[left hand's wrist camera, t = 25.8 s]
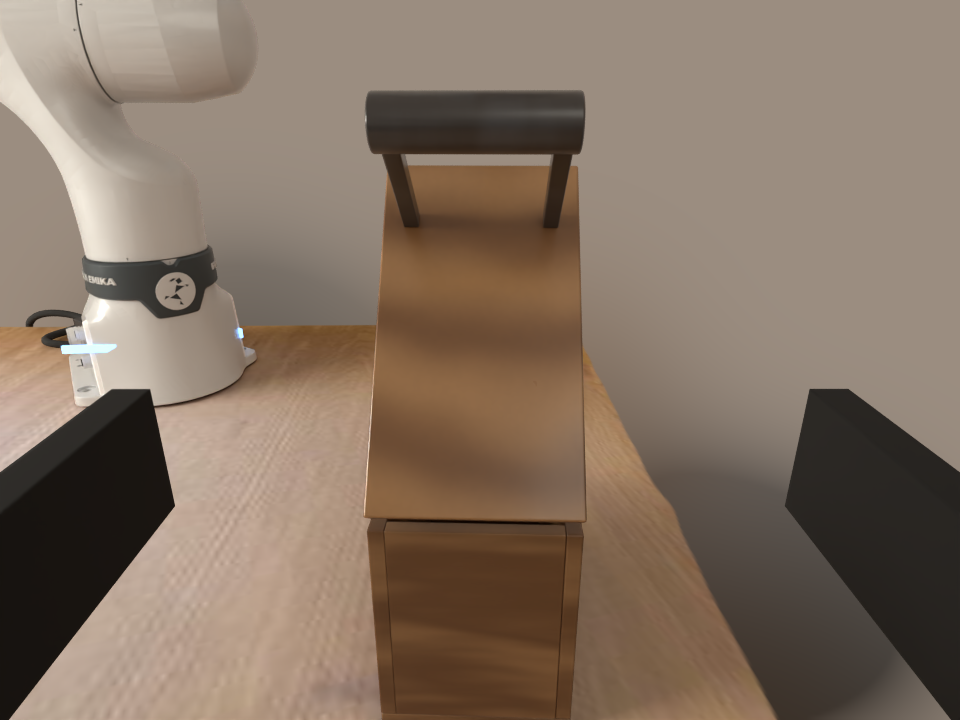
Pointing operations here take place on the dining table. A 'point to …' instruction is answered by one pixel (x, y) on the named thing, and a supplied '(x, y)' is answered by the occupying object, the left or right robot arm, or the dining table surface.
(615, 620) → the dining table surface
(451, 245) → the lid
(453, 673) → the chest
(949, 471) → the left robot arm
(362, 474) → the dining table surface
